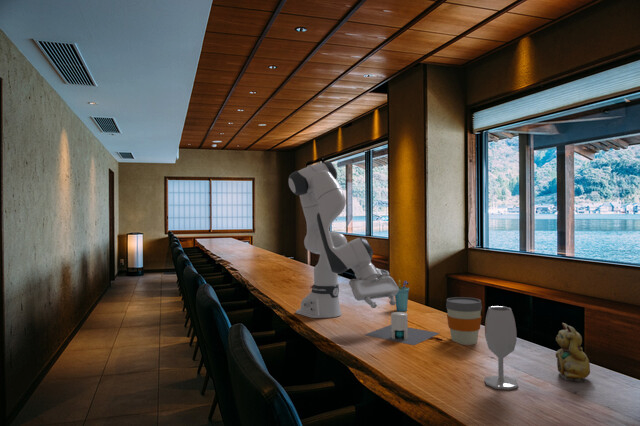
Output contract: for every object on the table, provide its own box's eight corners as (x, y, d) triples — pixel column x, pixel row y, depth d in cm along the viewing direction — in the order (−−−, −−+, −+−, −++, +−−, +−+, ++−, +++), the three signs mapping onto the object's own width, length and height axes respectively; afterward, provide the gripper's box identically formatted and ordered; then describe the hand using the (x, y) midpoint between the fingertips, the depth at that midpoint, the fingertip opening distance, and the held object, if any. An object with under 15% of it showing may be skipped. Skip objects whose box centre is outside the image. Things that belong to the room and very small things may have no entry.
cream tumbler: (388, 338, 170) (388, 314, 170) (396, 334, 175) (396, 311, 175) (402, 340, 166) (401, 316, 166) (410, 337, 171) (410, 313, 171)
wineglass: (478, 379, 129) (477, 305, 129) (508, 377, 130) (507, 304, 130) (493, 391, 120) (491, 312, 120) (524, 389, 121) (523, 311, 121)
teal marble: (394, 337, 171) (393, 329, 170) (398, 336, 173) (398, 328, 173) (401, 339, 169) (400, 331, 169) (405, 337, 171) (405, 329, 171)
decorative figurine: (551, 371, 135) (550, 320, 135) (581, 371, 134) (580, 320, 134) (565, 383, 125) (565, 328, 125) (597, 384, 124) (596, 329, 124)
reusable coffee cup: (444, 344, 163) (444, 302, 163) (448, 335, 175) (447, 296, 175) (481, 347, 158) (481, 304, 158) (483, 338, 170) (482, 298, 170)
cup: (416, 313, 212) (415, 281, 212) (400, 314, 210) (400, 282, 210) (404, 307, 226) (403, 277, 226) (389, 308, 224) (389, 277, 224)
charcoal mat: (363, 336, 175) (363, 334, 175) (391, 325, 191) (391, 324, 190) (414, 346, 161) (414, 345, 161) (440, 334, 176) (440, 333, 176)
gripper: (350, 274, 177) (366, 303, 168) (391, 270, 187) (407, 298, 179) (344, 284, 180) (359, 313, 172) (384, 280, 191) (400, 307, 183)
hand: (384, 305), depth 176 cm, fingers open, 8 cm apart
